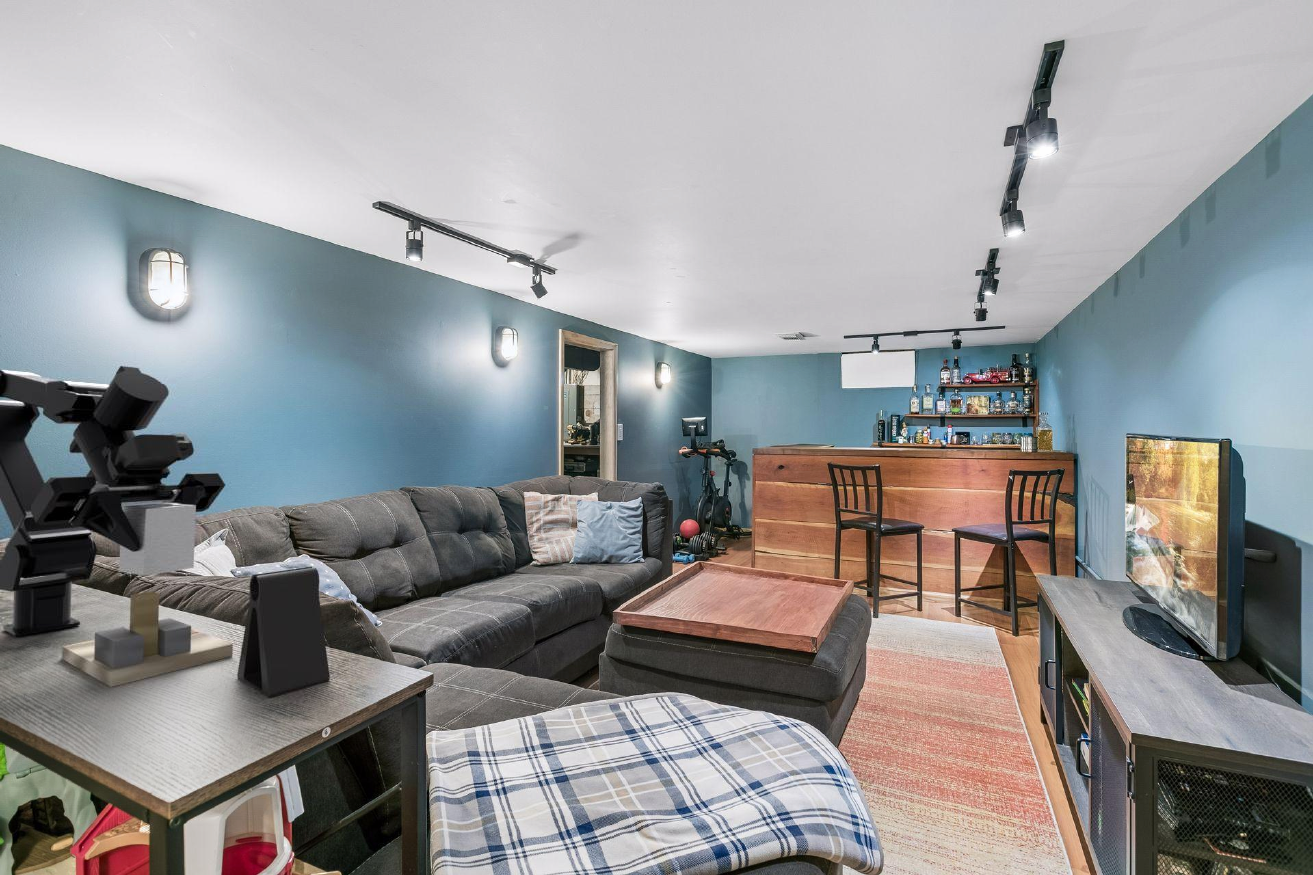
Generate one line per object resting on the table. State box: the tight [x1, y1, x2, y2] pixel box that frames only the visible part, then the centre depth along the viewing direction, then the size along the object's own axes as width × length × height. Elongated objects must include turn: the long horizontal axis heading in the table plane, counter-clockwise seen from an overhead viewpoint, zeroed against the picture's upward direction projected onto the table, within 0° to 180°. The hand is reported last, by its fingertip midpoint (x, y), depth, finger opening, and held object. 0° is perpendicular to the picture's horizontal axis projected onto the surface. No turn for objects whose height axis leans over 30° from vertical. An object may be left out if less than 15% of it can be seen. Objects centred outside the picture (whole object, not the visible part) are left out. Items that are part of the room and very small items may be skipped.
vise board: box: [61, 591, 234, 688], centre depth 73 cm, size 16×12×8 cm
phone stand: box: [236, 566, 331, 699], centre depth 67 cm, size 9×6×12 cm, turn 52°
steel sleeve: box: [118, 502, 197, 576], centre depth 76 cm, size 5×5×8 cm
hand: (164, 545), depth 75 cm, fingers closed on steel sleeve, 5 cm apart
